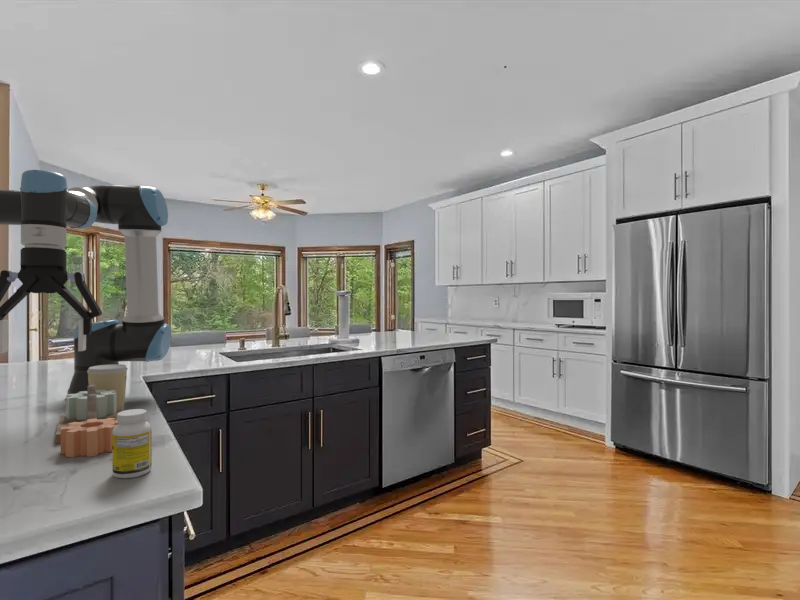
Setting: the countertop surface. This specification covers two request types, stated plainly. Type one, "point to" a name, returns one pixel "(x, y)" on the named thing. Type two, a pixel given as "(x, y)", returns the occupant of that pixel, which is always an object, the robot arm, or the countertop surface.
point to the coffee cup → (109, 380)
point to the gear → (78, 404)
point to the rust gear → (87, 437)
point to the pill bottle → (131, 444)
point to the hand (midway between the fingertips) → (43, 351)
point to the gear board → (66, 421)
